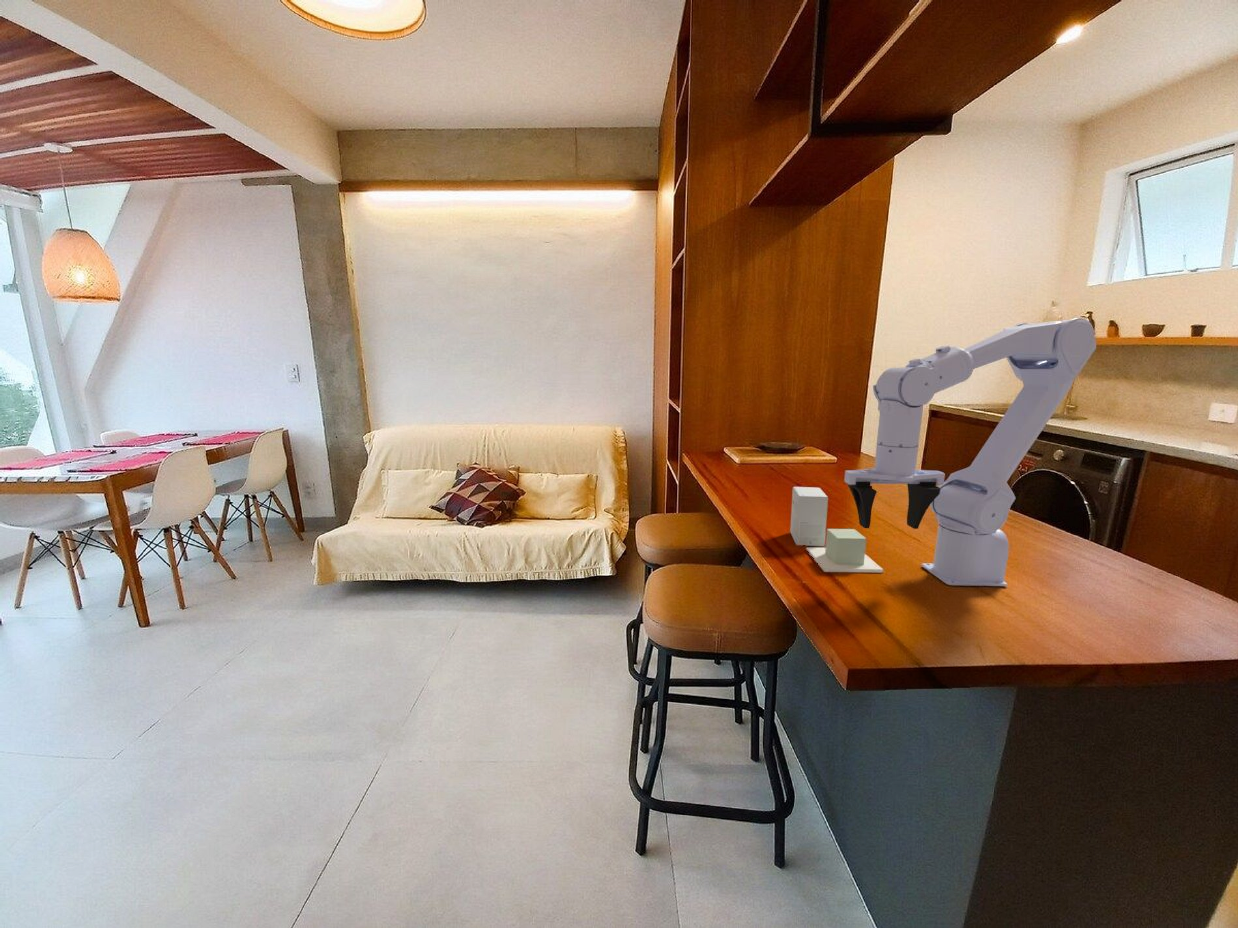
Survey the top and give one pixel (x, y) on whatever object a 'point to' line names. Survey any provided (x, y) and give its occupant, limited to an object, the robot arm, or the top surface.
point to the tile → (831, 567)
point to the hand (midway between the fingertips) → (888, 526)
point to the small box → (808, 516)
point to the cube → (845, 546)
